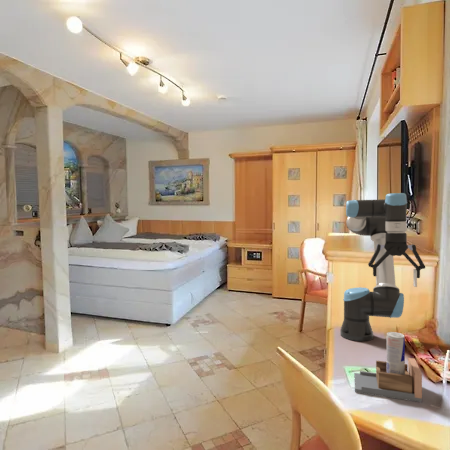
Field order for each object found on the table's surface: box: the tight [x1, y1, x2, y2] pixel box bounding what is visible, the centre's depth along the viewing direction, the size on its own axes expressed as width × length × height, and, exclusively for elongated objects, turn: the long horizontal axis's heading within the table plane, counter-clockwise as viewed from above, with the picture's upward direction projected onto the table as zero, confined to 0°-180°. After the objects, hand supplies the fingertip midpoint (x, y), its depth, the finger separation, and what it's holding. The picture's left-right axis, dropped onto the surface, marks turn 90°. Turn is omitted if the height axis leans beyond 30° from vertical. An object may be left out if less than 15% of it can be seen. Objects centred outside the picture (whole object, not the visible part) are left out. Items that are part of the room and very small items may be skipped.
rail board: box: [353, 357, 423, 403], centre depth 118 cm, size 12×20×9 cm, turn 70°
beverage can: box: [386, 331, 406, 375], centre depth 117 cm, size 6×6×15 cm
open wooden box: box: [375, 360, 412, 393], centre depth 117 cm, size 10×10×6 cm
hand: (395, 285), depth 136 cm, fingers open, 13 cm apart
